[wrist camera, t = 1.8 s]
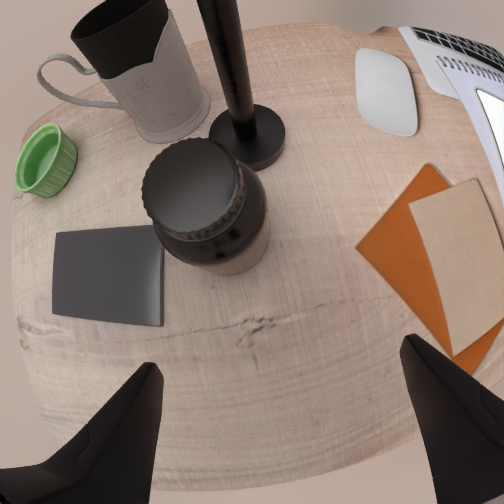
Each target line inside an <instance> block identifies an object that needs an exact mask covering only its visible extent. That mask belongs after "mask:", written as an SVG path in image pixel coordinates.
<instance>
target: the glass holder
mask: <svg viewBox="0 0 504 504" xmlns="http://www.w3.org/2000/svg"><path fill="white" fill-rule="evenodd" d="M71 39H72V41H73V42H74V43H75V44H76V46H77V47H78V48H79V50H80V51H81V52H82V53H83V55H84V56H85V57H86V58H87V60H88V61H89V62H90V64H91V65H92V66H93V67H94V68H92V69H86V68H84V67H83V66H82V65H81V64H80V63H79V62H78V61H77V60H76V59H75V58H73V57H71V56H69V55H66V54H54V55H51V56H49V57H48V58H46V59H45V60H44V61H43V62H42V63H41V65H40V66H39V68H38V72H37V78H38V82H39V83H40V84H41V85H42V87H43V88H45V89H46V90H47V91H48V92H49V93H51V94H52V95H54V96H56V97H58V98H59V99H61V100H64V101H66V102H69V103H72V104H75V105H79V106H88V107H99V108H113V109H121V110H125V111H126V112H127V113H128V114H129V116H130V117H131V118H132V119H133V120H134V122H135V123H136V127H137V131H138V133H139V134H140V136H141V137H142V138H143V139H145V140H147V141H149V142H152V143H168V142H173V141H176V140H179V139H181V138H183V137H185V136H187V135H188V134H190V133H191V132H193V131H194V130H195V129H196V128H197V127H198V126H199V125H200V124H201V123H202V122H203V121H204V119H205V118H206V116H207V114H208V112H209V108H210V98H209V95H208V93H207V91H206V90H205V89H204V88H203V87H201V85H200V83H199V80H198V78H197V75H196V72H195V70H194V67H193V65H192V62H191V59H190V57H189V54H188V52H187V49H186V47H185V44H184V42H183V39H182V37H181V34H180V32H179V29H178V26H177V24H176V21H175V19H174V16H173V14H172V11H171V9H168V8H167V5H166V3H165V0H106V1H105V2H103V3H101V4H100V5H98V6H97V7H95V8H94V9H93V10H91V11H90V12H89V13H88V14H86V15H85V16H84V17H83V18H82V19H81V20H80V21H79V22H78V23H77V25H76V26H75V27H74V29H73V30H72V33H71ZM53 60H61V61H65V62H67V63H70V64H71V65H72V66H73V67H74V68H75V69H76V70H77V71H78V72H79V73H81V74H83V75H91V74H94V73H96V72H97V74H98V77H99V78H100V80H101V81H102V82H103V83H104V85H105V86H106V87H107V88H108V90H109V91H110V92H111V93H112V95H113V96H114V97H115V98H116V99H117V101H118V102H119V103H114V102H100V101H90V100H83V99H78V98H75V97H72V96H69V95H66V94H64V93H62V92H60V91H58V90H57V89H55V88H54V87H52V86H51V85H50V84H49V83H47V82H46V80H45V79H44V78H43V77H42V74H41V68H42V67H43V66H44V65H45V64H46V63H47V62H50V61H53Z"/></svg>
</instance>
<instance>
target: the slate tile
mask: <svg viewBox="0 0 504 504" xmlns="http://www.w3.org/2000/svg"><path fill="white" fill-rule="evenodd" d="M163 256H164V246H163V245H162V244H161V242H160V240H159V239H158V237H157V234H156V232H155V229H154V225H145V226H131V227H117V228H105V229H93V230H81V231H70V232H60V233H56V240H55V250H54V263H53V282H52V314H57V315H63V316H69V317H76V318H83V319H90V320H98V321H106V322H115V323H124V324H134V325H146V326H158V327H161V326H163Z"/></svg>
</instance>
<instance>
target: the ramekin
mask: <svg viewBox="0 0 504 504" xmlns="http://www.w3.org/2000/svg"><path fill="white" fill-rule="evenodd" d="M76 159H77V149H76V146H75V144H74V143H73V141H72V140H71V139H70V138H69V137H68V136H67V135H66V134H65V133H64V132H63V131H62V129H61V128H60V126H59V125H57V124H56V123H48V124H46V125H44V126H42V127H40V128H39V129H38V130H37V131H36V132H35V133H34V134H33V135H32V136H31V137H30V138H29V139H28V141H27V142H26V144H25V145H24V147H23V149H22V151H21V153H20V155H19V157H18V160H17V163H16V167H15V172H14V182H15V186H16V188H17V189H18V190H19V191H21V192H25V193H27V192H29V193H32V194H35V195H38V196H41V197H51V196H53V195H55V194H56V193H57V192H58V191H60V190H61V189H62V188H63V186H64V185H65V184H66V183H67V181H68V180H69V178H70V176H71V174H72V172H73V170H74V167H75V163H76Z"/></svg>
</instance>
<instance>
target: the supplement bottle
mask: <svg viewBox="0 0 504 504" xmlns="http://www.w3.org/2000/svg"><path fill="white" fill-rule="evenodd" d="M141 190H142V200H143V201H144V208H145V209H146V210H147V215H148V216H149V217H151V218H152V220H153V225H154V229H155V232H156V234H157V237H158V239H159V240H160V242H161V244H162V245H163V246H164V248H165V249H166V250H167V251H168V252H169V253H170V254H172V255H173V256H174V257H176V258H177V259H179V260H181V261H183V262H185V263H187V264H190V265H193V266H195V267H198V268H201V269H204V270H207V271H210V272H213V273H216V274H221V275H235V274H239V273H242V272H244V271H247V270H248V269H250V268H252V267H253V266H254V265H255V264H256V263H257V262H258V261H259V260H260V259H261V258H262V256H263V255H264V253H265V251H266V248H267V245H268V241H269V219H268V206H267V198H266V194H265V190H264V187H263V185H262V183H261V180H260V179H259V177H258V176H257V174H256V173H255V172H254V171H253V170H252V169H251V168H250V167H249V166H248V165H247V164H245V163H244V162H242V161H241V160H239V159H237V158H235V157H234V156H233V154H232V152H231V151H230V150H227V149H226V147H225V146H224V145H222V144H219V143H218V142H217V141H212V140H210V139H209V138H205V139H203V138H200V137H197V138H194V139H193V138H188V139H186V140H180V141H179V142H177V143H174V144H171V145H170V146H169V147H168V148H165V149H164V150H163V151H162V152H161V153H160V154H158V155H157V156H156V157H155V159H154V160H153V161H152V162H151V163H150V166H149V168H148V169H147V170H146V174H145V177H144V179H143V186H142V188H141Z"/></svg>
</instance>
